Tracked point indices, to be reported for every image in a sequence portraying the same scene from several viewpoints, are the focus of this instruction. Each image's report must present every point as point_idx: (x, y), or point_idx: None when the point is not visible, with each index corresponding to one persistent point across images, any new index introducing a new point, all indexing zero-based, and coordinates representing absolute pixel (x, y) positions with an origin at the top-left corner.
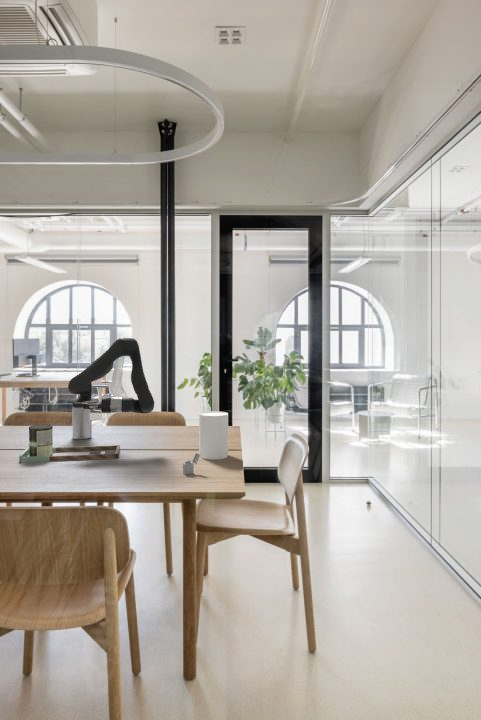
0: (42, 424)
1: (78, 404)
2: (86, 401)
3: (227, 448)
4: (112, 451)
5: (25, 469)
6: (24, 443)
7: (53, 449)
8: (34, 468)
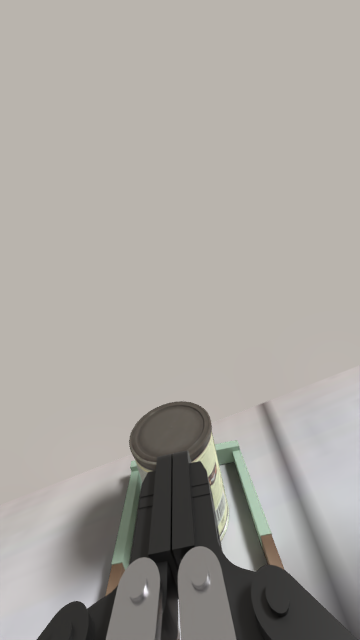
0: (208, 418)
1: (139, 516)
2: (321, 612)
3: None
4: None
5: (48, 523)
6: (335, 407)
7: (257, 529)
8: (41, 550)
